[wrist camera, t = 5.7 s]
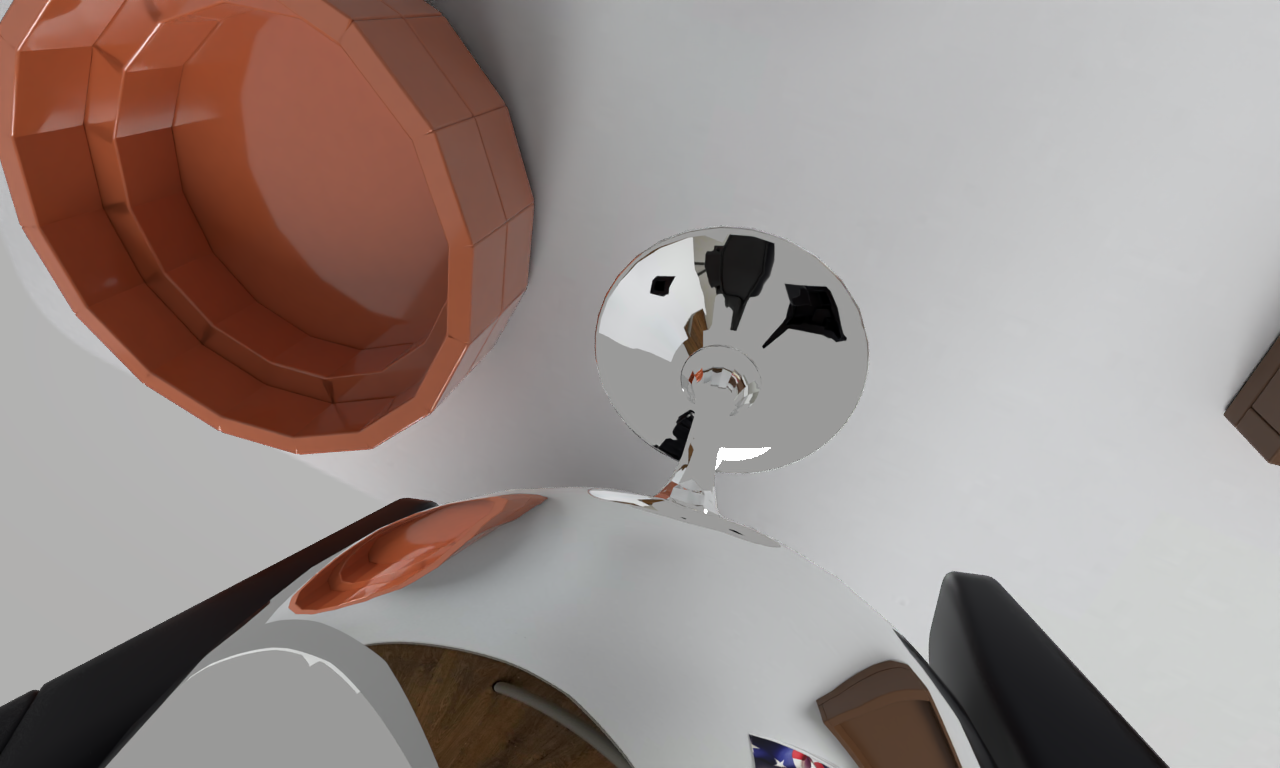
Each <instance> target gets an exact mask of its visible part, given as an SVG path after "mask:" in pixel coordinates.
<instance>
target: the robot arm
mask: <svg viewBox="0 0 1280 768" xmlns="http://www.w3.org/2000/svg"><path fill="white" fill-rule="evenodd" d="M436 506H439V505H438V504H437V503H435V502H433V501H427V500H420V499H413V498H402V499H399V500H397V501H395V502H393V503H391V504H389V505H387V506H385V507H383V508H381V509H380V510H377V511H376V512H374V513H372V514H370V515H368V516H366V517H364V518H362V519H360V520H358V521H356V522H354V523H353V524H351V525H349V526H347V527H345V528H343V529H341V530H339V531H337V532H335V533H333V534H331V535H330V536H328V537H326V538H324V539H322V540H320V541H318V542H316V543H314V544H312V545H310V546H309V547H307V548H305V549H303V550H301V551H299V552H297V553H295V554H293V555H291V556H289V557H287V558H286V559H283V560H282V561H280V562H278V563H276V564H274V565H272V566H270V567H268V568H266V569H264V570H262V571H260V572H259V573H257V574H255V575H253V576H251V577H249V578H247V579H245V580H243V581H241V582H240V583H237V584H235V585H234V586H232V587H230V588H228V589H226V590H224V591H222V592H220V593H218V594H216V595H215V596H213V597H211V598H209V599H207V600H205V601H203V602H201V603H199V604H197V605H195V606H193V607H191V608H189V609H188V610H186V611H184V612H182V613H180V614H178V615H176V616H174V617H172V618H170V619H168V620H166V621H164V622H163V623H161V624H159V625H157V626H155V627H153V628H151V629H149V630H147V631H145V632H143V633H142V634H139V635H138V636H136V637H134V638H132V639H130V640H128V641H126V642H124V643H122V644H120V645H118V646H117V647H114V648H113V649H111V650H109V651H107V652H105V653H103V654H101V655H99V656H97V657H95V658H94V659H92V660H90V661H88V662H86V663H84V664H82V665H80V666H78V667H76V668H74V669H72V670H70V671H68V672H66V673H65V674H63V675H61V676H59V677H57V678H55V679H53V680H51V681H49V682H47V683H46V684H44V685H43V687H42V688H41V689H40V691H39V690H32V691H30V692H28V693H26V694H24V695H22V696H20V697H18V698H16V699H14V700H12V701H11V702H9V703H7V704H5V705H3V706H1V707H0V768H96V767H97V766H98V765H99V764H100V762H101V761H102V760H103V759H104V758H105V757H106V755H107V754H108V753H109V752H110V751H111V750H112V748H113V747H114V746H115V745H116V744H117V743H118V741H119V740H120V739H121V738H122V737H123V735H124V734H125V733H126V732H127V731H128V730H129V728H130V727H131V726H132V725H133V724H134V723H135V722H136V721H137V720H138V719H139V718H140V717H141V716H142V715H143V714H144V713H145V712H146V711H147V710H148V709H149V708H150V707H151V706H152V705H153V704H154V703H155V702H156V701H157V700H158V699H159V698H160V697H161V696H162V695H163V694H164V693H165V692H166V691H167V690H168V689H169V688H170V686H171V685H172V684H173V683H174V682H175V681H176V680H177V679H178V678H180V677H181V676H182V675H183V674H184V673H185V672H186V671H187V670H188V669H189V668H190V667H191V666H193V665H194V664H195V663H196V662H197V661H198V660H199V659H200V658H201V657H202V656H203V655H204V654H206V653H207V652H208V651H209V650H210V649H211V648H212V647H213V646H214V645H215V644H216V643H217V642H219V641H220V640H221V639H222V638H223V637H224V636H225V635H227V634H228V633H229V632H230V631H232V630H233V629H234V628H235V627H237V626H238V625H239V624H241V623H242V622H243V621H244V620H246V619H247V618H248V617H249V616H251V615H252V614H253V613H254V612H256V611H257V610H258V609H260V608H261V607H262V606H263V605H265V604H266V603H267V602H268V601H270V600H271V599H272V598H274V597H275V596H276V595H277V594H279V593H280V592H281V591H282V590H284V589H285V588H286V587H287V586H289V585H290V584H291V583H293V582H294V581H295V580H296V579H298V578H299V577H300V576H301V575H303V574H304V573H305V572H307V571H308V570H309V569H310V568H312V567H313V566H315V565H317V564H319V563H320V562H322V561H324V560H326V559H327V558H329V557H331V556H333V555H334V554H336V553H338V552H340V551H341V550H343V549H345V548H346V547H348V546H350V545H352V544H353V543H355V542H357V541H359V540H360V539H362V538H364V537H366V536H367V535H369V534H371V533H372V532H374V531H376V530H378V529H379V528H381V527H383V526H386V525H388V524H391V523H393V522H396V521H398V520H400V519H403V518H405V517H408V516H410V515H413V514H415V513H418V512H421V511H424V510H427V509H430V508H433V507H436ZM929 665H930V667H931V668H932V669H933V670H934V671H935V673H936V674H937V675H938V676H939V677H940V678H941V680H942V681H943V682H944V683H945V684H946V685H947V687H948V688H949V689H950V690H951V691H952V693H953V694H954V695H955V696H956V697H957V699H958V700H959V702H960V703H961V705H962V706H963V708H964V709H965V711H966V713H967V714H968V716H969V718H970V719H971V721H972V723H973V724H974V726H975V728H976V730H977V731H978V733H979V735H980V736H981V738H982V740H983V741H984V743H985V745H986V746H987V748H988V750H989V751H990V753H991V755H992V757H993V758H994V760H995V762H996V763H997V765H998V767H999V768H1169V766H1168V765H1167V764H1166V763H1165V762H1164V761H1163V760H1162V759H1161V758H1160V757H1159V756H1158V755H1157V753H1156V752H1155V751H1154V750H1153V749H1152V748H1151V747H1150V746H1149V745H1148V744H1147V743H1146V742H1145V740H1144V739H1143V738H1142V737H1141V736H1140V735H1139V734H1138V733H1137V732H1136V731H1135V730H1134V729H1133V727H1132V726H1131V725H1130V724H1129V723H1128V722H1127V721H1126V720H1125V719H1124V718H1123V717H1122V716H1121V714H1120V713H1119V712H1118V711H1117V710H1116V709H1115V708H1114V707H1113V706H1112V705H1111V704H1110V703H1109V701H1108V700H1107V699H1106V698H1105V697H1104V696H1103V695H1102V694H1101V693H1100V692H1099V691H1098V690H1097V688H1096V687H1095V686H1094V685H1093V684H1092V683H1091V682H1090V681H1089V680H1088V679H1087V678H1086V677H1085V675H1084V674H1083V673H1082V672H1081V671H1080V670H1079V669H1078V668H1077V667H1076V666H1075V665H1074V664H1073V662H1072V661H1071V660H1070V659H1069V658H1068V657H1067V656H1066V655H1065V654H1064V653H1063V652H1062V651H1061V649H1060V648H1059V647H1058V646H1057V645H1056V644H1055V643H1054V642H1053V641H1052V640H1051V639H1050V638H1049V636H1048V635H1047V634H1046V633H1045V632H1044V631H1043V630H1042V629H1041V628H1040V627H1039V626H1038V625H1037V623H1036V622H1035V621H1034V620H1033V619H1032V618H1031V617H1030V616H1029V615H1028V614H1027V613H1026V612H1025V610H1024V609H1023V608H1022V607H1021V606H1020V605H1019V604H1018V603H1017V602H1016V601H1015V600H1014V599H1013V597H1012V596H1011V595H1010V594H1009V593H1008V592H1007V591H1006V590H1005V589H1004V588H1003V587H1002V586H1001V584H1000V583H999V582H997V581H996V580H995V579H993V578H992V577H989V576H985V575H978V574H970V573H963V572H955V571H953V572H950V573H948V574H946V576H945V577H944V579H943V582H942V585H941V589H940V593H939V597H938V601H937V605H936V610H935V614H934V618H933V622H932V626H931V630H930V637H929Z"/></svg>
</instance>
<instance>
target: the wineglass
mask: <svg viewBox="0 0 1280 768" xmlns="http://www.w3.org/2000/svg"><path fill="white" fill-rule="evenodd" d="M595 356H596V363H597V369H598V373H599V377H600V380H601V383H602V385H603V388H604V391H605V393H606V394H607V396H608V398H609V400H610V402H611V404H612V406H613V407H614V409H615V410H616V412H617V413H618V415H619V416H620V417H621V419H622V420H623V421H624V422H625V423H626V425H627V426H628V427H629V428H630V429H631V430H632V431H633V432H634V433H635V434H636V435H637V436H638V437H639V438H641V439H642V440H643V441H644V442H646V443H647V444H648V445H649V446H651V447H652V448H654V449H656V450H657V451H659V452H660V453H662V454H664V455H666V456H668V457H670V458H671V459H673V460H676V461H678V462H679V464H678V465H677V467H676V469H675V470H674V472H673V474H672V476H671V477H670V478H669V480H668V481H667V482H666V484H665V485H664V486H663V488H662V489H661V490H660V492H659V493H658V494H657V495H655V496H648V495H643V494H638V493H634V492H629V491H624V490H619V489H607V488H593V487H554V488H531V489H510V490H504V491H499V492H494V493H490V494H485V495H481V496H476V497H471V498H467V499H462V500H458V501H453V502H448V503H445V504H442V505H439V506H436V507H433V508H430V509H427V510H424V511H421V512H418V513H415V514H413V515H410V516H408V517H405V518H403V519H400V520H398V521H396V522H393V523H391V524H388V525H386V526H383V527H381V528H379V529H378V530H376V531H374V532H372V533H371V534H369V535H367V536H366V537H364V538H362V539H360V540H359V541H357V542H355V543H353V544H352V545H350V546H348V547H346V548H345V549H343V550H341V551H340V552H338V553H336V554H334V555H333V556H331V557H329V558H327V559H326V560H324V561H322V562H320V563H319V564H317V565H315V566H313V567H312V568H310V569H309V570H308V571H307V572H305V573H304V574H303V575H301V576H300V577H299V578H298V579H296V580H295V581H294V582H293V583H291V584H290V585H289V586H287V587H286V588H285V589H284V590H282V591H281V592H280V593H279V594H277V595H276V596H275V597H274V598H272V599H271V600H270V601H268V602H267V603H266V604H265V605H263V606H262V607H261V608H260V609H258V610H257V611H256V612H254V613H253V614H252V615H251V616H249V617H248V618H247V619H246V620H244V621H243V622H242V623H241V624H239V625H238V626H237V627H235V628H234V629H233V630H232V631H230V632H229V633H228V634H227V635H225V636H224V637H223V638H222V639H221V640H220V641H219V642H217V643H216V644H215V645H214V646H213V647H212V648H211V649H210V650H209V651H208V652H207V653H206V654H204V655H203V656H202V657H201V658H200V659H199V660H198V661H197V662H196V663H195V664H194V665H193V666H191V667H190V668H189V669H188V670H187V671H186V672H185V673H184V674H183V675H182V676H181V677H180V678H178V679H177V680H176V681H175V682H174V683H173V684H172V685H171V686H170V688H169V689H168V690H167V691H166V692H165V693H164V694H163V695H162V696H161V697H160V698H159V699H158V700H157V701H156V702H155V703H154V704H153V705H152V706H151V707H150V708H149V709H148V710H147V711H146V712H145V713H144V714H143V715H142V716H141V717H140V718H139V719H138V720H137V721H136V722H135V723H134V724H133V725H132V726H131V727H130V728H129V730H128V731H127V732H126V733H125V734H124V735H123V737H122V738H121V739H120V740H119V741H118V743H117V744H116V745H115V746H114V747H113V748H112V750H111V751H110V752H109V753H108V754H107V755H106V757H105V758H104V759H103V760H102V761H101V762H100V764H99V765H98V766H97V767H96V768H999V767H998V765H997V763H996V762H995V760H994V758H993V757H992V755H991V753H990V751H989V750H988V748H987V746H986V745H985V743H984V741H983V740H982V738H981V736H980V735H979V733H978V731H977V730H976V728H975V726H974V724H973V723H972V721H971V719H970V718H969V716H968V714H967V713H966V711H965V709H964V708H963V706H962V705H961V703H960V702H959V700H958V699H957V697H956V696H955V695H954V694H953V693H952V691H951V690H950V689H949V688H948V687H947V685H946V684H945V683H944V682H943V681H942V680H941V678H940V677H939V676H938V675H937V674H936V673H935V671H934V670H933V669H932V668H931V667H930V665H929V664H928V663H927V662H926V661H925V660H924V658H923V657H922V656H921V655H920V654H919V653H918V652H917V651H916V649H915V648H914V647H913V646H912V645H911V644H910V643H909V642H908V641H907V640H906V639H905V638H904V636H903V635H902V634H901V633H900V632H899V631H898V630H897V629H896V628H895V627H894V626H893V625H892V624H891V623H890V622H889V621H888V620H887V619H885V618H884V617H883V616H882V615H881V614H880V613H878V612H877V611H876V610H875V609H874V608H873V607H872V606H870V605H869V604H868V603H867V602H866V601H865V600H863V599H862V598H861V597H860V596H859V595H858V594H857V593H855V592H854V591H853V590H852V589H851V588H850V587H849V586H847V585H846V584H845V583H844V582H843V581H842V580H840V579H839V578H838V577H837V576H835V575H834V574H832V573H830V572H829V571H827V570H825V569H824V568H822V567H820V566H819V565H817V564H816V563H814V562H812V561H811V560H809V559H807V558H806V557H804V556H802V555H801V554H799V553H798V552H796V551H794V550H793V549H791V548H789V547H788V546H786V545H784V544H783V543H781V542H780V541H778V540H776V539H775V538H772V537H770V536H768V535H766V534H763V533H761V532H759V531H757V530H755V529H752V528H750V527H747V526H745V525H742V524H740V523H737V522H735V521H732V520H730V519H727V518H725V517H723V516H721V514H720V513H719V511H718V509H717V502H716V492H715V483H714V480H715V472H717V473H727V474H750V473H760V472H765V471H771V470H775V469H778V468H782V467H785V466H788V465H790V464H793V463H796V462H798V461H800V460H802V459H804V458H806V457H808V456H809V455H811V454H813V453H814V452H816V451H817V450H819V449H820V448H822V447H823V446H824V445H825V444H827V443H828V442H829V441H830V440H831V439H832V438H833V437H834V436H836V435H837V433H838V432H839V431H840V430H841V429H842V428H843V427H844V426H845V424H846V423H847V421H848V420H849V419H850V417H851V415H852V414H853V412H854V411H855V409H856V407H857V405H858V403H859V401H860V398H861V396H862V393H863V391H864V388H865V384H866V380H867V375H868V370H869V357H870V355H869V341H868V337H867V334H866V330H865V326H864V323H863V319H862V315H861V312H860V309H859V307H858V305H857V304H856V302H855V300H854V299H853V297H852V295H851V294H850V292H849V291H848V289H847V287H846V286H845V284H844V282H843V281H842V279H841V278H840V277H839V276H838V275H836V274H835V273H834V272H833V271H832V270H831V269H830V268H829V267H828V266H827V265H826V264H825V263H824V262H823V261H822V260H821V259H820V258H819V257H818V256H817V255H815V254H813V253H811V252H810V251H808V250H806V249H805V248H803V247H801V246H799V245H798V244H796V243H794V242H792V241H791V240H789V239H787V238H785V237H781V236H778V235H775V234H772V233H768V232H765V231H762V230H758V229H755V228H747V227H734V226H722V225H721V226H714V227H706V228H699V229H692V230H687V231H685V232H682V233H679V234H677V235H674V236H671V237H669V238H666V239H663V240H660V241H659V242H657V243H656V244H654V245H653V246H651V247H650V248H648V249H647V250H645V251H644V252H642V253H641V254H639V255H638V256H636V257H635V258H634V259H633V260H632V261H631V262H630V263H629V264H628V265H627V266H626V267H625V269H624V270H623V271H622V272H621V273H620V274H619V275H618V276H617V278H616V279H615V281H614V283H613V284H612V286H611V287H610V289H609V291H608V292H607V294H606V296H605V298H604V301H603V304H602V306H601V309H600V312H599V314H598V320H597V325H596V331H595Z"/></svg>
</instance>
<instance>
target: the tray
mask: <svg viewBox="0 0 1280 768" xmlns="http://www.w3.org/2000/svg"><path fill="white" fill-rule="evenodd" d="M1224 416H1225V417H1226V418H1227V419H1228V420H1229V421H1230V423H1231V424H1232V425H1233V426H1234V427H1236V429H1237V430H1238V431H1239V432H1240V433H1241V434H1242V435H1243V436H1244V437H1245V438H1246V439H1247V440H1248V442H1249V443H1250V444H1251V445H1252V446H1253V447H1254V448H1255V449H1256V450H1257V451H1258V452H1259V453H1260V454H1261V455H1262V456H1263V457H1264V458H1265V460H1266V461H1267V462H1268V463H1271V464H1275V465H1279V466H1280V336H1279V337H1278V339H1277V340H1276V341H1275V343H1274V344H1273V346H1272V347H1271V348H1270V350H1269V351H1268V353H1267V354H1266V355H1265V357H1264V358H1263V360H1262V361H1261V362H1260V364H1259V365H1258V367H1257V368H1256V370H1255V371H1254V372H1253V374H1252V375H1251V377H1250V378H1249V379H1248V381H1247V382H1246V384H1245V385H1244V386H1243V388H1242V389H1241V391H1240V392H1239V393H1238V395H1237V396H1236V398H1235V399H1234V400H1233V402H1232V403H1231V405H1230V406H1229V407H1228V409H1227V410H1226V412H1225V413H1224Z"/></svg>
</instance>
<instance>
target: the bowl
mask: <svg viewBox="0 0 1280 768" xmlns="http://www.w3.org/2000/svg"><path fill="white" fill-rule="evenodd" d="M0 161H1V164H2V168H3V171H4V174H5V177H6V181H7V184H8V187H9V191H10V194H11V197H12V201H13V204H14V207H15V210H16V214H17V217H18V220H19V224H20V225H21V226H22V229H23V231H24V233H25V234H26V236H27V237H28V239H29V241H30V242H31V244H32V246H33V247H34V249H35V250H36V252H37V254H38V255H39V257H40V259H41V260H42V262H43V263H44V265H45V267H46V268H47V270H48V272H49V273H50V275H51V276H52V278H53V280H54V281H55V283H56V285H57V286H58V288H59V290H60V291H61V293H62V294H63V296H64V298H65V299H66V301H67V303H68V304H69V306H70V307H71V309H72V311H73V312H74V313H76V314H75V315H76V316H77V317H78V318H79V319H80V320H81V321H82V322H83V323H84V324H85V325H86V326H87V327H88V328H89V329H90V330H91V332H92V333H93V334H94V335H95V336H96V337H97V338H98V339H99V340H100V341H101V342H102V343H103V344H104V345H105V346H106V347H107V348H108V349H109V350H110V351H111V352H112V353H113V354H114V355H115V356H116V357H117V358H118V359H119V360H120V361H121V362H122V363H123V364H124V365H125V366H126V367H127V368H128V369H129V370H130V371H131V372H132V373H133V374H134V375H135V376H136V377H137V378H138V379H139V380H140V381H141V382H142V383H145V385H146V386H148V387H149V388H151V389H152V390H154V391H156V392H157V393H159V394H160V395H162V396H164V397H165V398H167V399H168V400H170V401H172V402H173V403H175V404H176V405H178V406H180V407H181V408H183V409H184V410H186V411H188V412H189V413H191V414H192V415H194V416H196V417H197V418H199V419H201V420H202V421H204V422H205V423H207V424H208V425H210V426H212V427H213V428H215V429H216V430H218V431H221V432H223V433H226V434H229V435H233V436H236V437H239V438H243V439H247V440H250V441H253V442H257V443H260V444H263V445H267V446H270V447H274V448H277V449H281V450H284V451H287V452H291V453H294V454H300V455H301V454H314V453H328V452H341V451H355V450H368V449H373V448H375V447H377V446H378V445H380V444H382V443H383V442H385V441H387V440H388V439H390V438H392V437H393V436H395V435H397V434H398V433H400V432H402V431H403V430H405V429H407V428H408V427H410V426H412V425H413V424H415V423H417V422H418V421H420V420H421V419H423V418H425V417H426V416H428V415H430V414H431V413H432V412H433V411H434V410H435V409H436V408H437V407H438V406H439V405H440V404H441V403H442V402H443V401H444V399H445V398H446V397H447V396H448V395H449V394H450V393H451V392H452V391H453V390H454V389H455V388H456V387H457V386H458V385H459V384H460V382H461V381H462V380H463V379H464V378H465V377H466V376H467V375H468V374H469V373H470V372H471V371H472V370H473V369H474V368H475V367H476V366H477V364H478V363H479V362H480V361H481V360H482V359H483V358H484V357H485V356H486V355H487V354H488V353H489V352H490V351H491V350H492V348H493V347H494V345H495V343H496V342H497V340H498V338H499V337H500V335H501V333H502V331H503V330H504V328H505V326H506V324H507V323H508V321H509V319H510V317H511V316H512V314H513V312H514V310H515V309H516V307H517V305H518V303H519V302H520V300H521V298H522V297H523V295H524V293H525V291H526V289H527V286H528V274H529V263H530V251H531V240H532V228H533V216H534V203H533V202H534V198H533V194H532V191H531V188H530V184H529V181H528V177H527V174H526V170H525V167H524V163H523V160H522V156H521V153H520V149H519V146H518V142H517V139H516V135H515V132H514V128H513V125H512V121H511V118H510V114H509V111H508V108H507V106H505V102H504V101H503V99H502V98H501V97H500V95H499V94H498V92H497V91H496V89H495V88H494V87H493V85H492V84H491V82H490V81H489V79H488V78H487V76H486V75H485V74H484V72H483V71H482V69H481V68H480V66H479V65H478V64H477V62H476V61H475V59H474V58H473V56H472V55H471V54H470V52H469V51H468V49H467V48H466V46H465V45H464V44H463V42H462V41H461V39H460V38H459V36H458V35H457V34H456V32H455V31H454V29H453V28H452V26H451V25H450V23H449V22H448V21H447V19H446V18H445V17H444V16H442V14H441V12H439V11H438V10H437V9H435V8H434V7H432V6H431V5H430V4H428V3H427V2H425V1H424V0H13V2H12V3H11V5H10V7H9V8H8V10H7V12H6V13H5V15H4V17H3V18H2V20H1V22H0Z"/></svg>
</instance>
